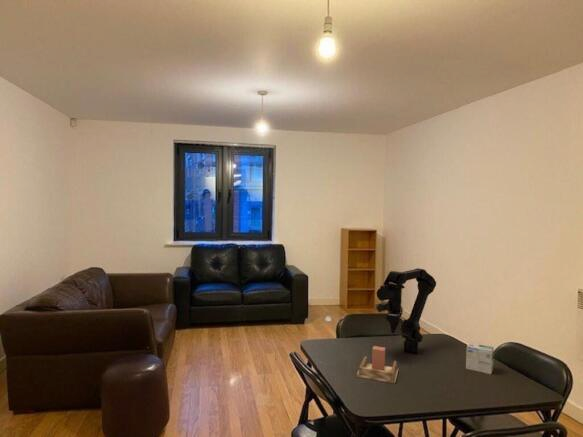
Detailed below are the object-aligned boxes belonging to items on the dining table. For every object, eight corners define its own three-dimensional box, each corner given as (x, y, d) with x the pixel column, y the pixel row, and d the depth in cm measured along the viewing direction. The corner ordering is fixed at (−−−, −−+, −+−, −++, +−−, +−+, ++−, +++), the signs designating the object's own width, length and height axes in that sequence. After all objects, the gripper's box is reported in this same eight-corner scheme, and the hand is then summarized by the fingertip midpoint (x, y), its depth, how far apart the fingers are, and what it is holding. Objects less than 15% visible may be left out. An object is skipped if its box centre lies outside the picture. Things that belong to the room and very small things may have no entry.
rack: (398, 370, 177) (398, 361, 177) (395, 383, 164) (395, 373, 164) (362, 364, 183) (362, 355, 182) (356, 376, 169) (356, 367, 169)
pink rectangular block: (384, 370, 174) (385, 347, 174) (383, 373, 170) (384, 350, 170) (372, 368, 176) (373, 345, 176) (371, 371, 172) (372, 348, 172)
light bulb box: (493, 369, 182) (494, 346, 181) (491, 374, 176) (492, 350, 175) (467, 364, 187) (468, 341, 187) (465, 368, 182) (466, 345, 181)
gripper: (380, 292, 203) (379, 323, 204) (375, 300, 185) (374, 333, 186) (403, 294, 199) (402, 325, 200) (400, 303, 182) (398, 337, 182)
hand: (393, 330), depth 192 cm, fingers open, 9 cm apart
